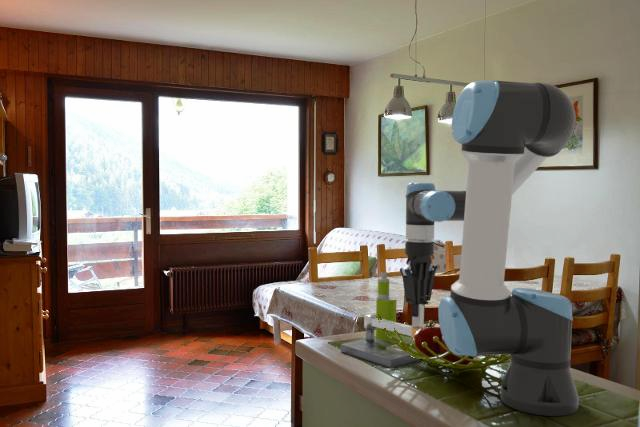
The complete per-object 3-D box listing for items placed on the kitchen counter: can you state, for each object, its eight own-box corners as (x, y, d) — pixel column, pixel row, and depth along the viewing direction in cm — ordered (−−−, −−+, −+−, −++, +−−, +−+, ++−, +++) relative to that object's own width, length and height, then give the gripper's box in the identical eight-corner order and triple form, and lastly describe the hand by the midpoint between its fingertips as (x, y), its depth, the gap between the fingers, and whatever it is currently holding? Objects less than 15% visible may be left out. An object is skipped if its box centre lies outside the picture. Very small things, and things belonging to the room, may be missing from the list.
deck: (422, 359, 151) (422, 339, 151) (390, 367, 144) (390, 346, 143) (372, 344, 165) (372, 325, 165) (340, 351, 157) (340, 332, 157)
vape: (380, 339, 171) (382, 270, 170) (397, 342, 167) (399, 273, 166) (373, 341, 168) (374, 272, 167) (390, 345, 164) (391, 274, 163)
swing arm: (425, 340, 149) (425, 326, 149) (416, 342, 147) (417, 328, 147) (370, 325, 164) (370, 313, 163) (361, 327, 162) (362, 314, 161)
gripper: (424, 238, 164) (422, 322, 165) (392, 240, 155) (390, 329, 156) (446, 240, 158) (444, 327, 159) (414, 243, 149) (412, 334, 150)
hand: (417, 328), depth 158 cm, fingers closed
